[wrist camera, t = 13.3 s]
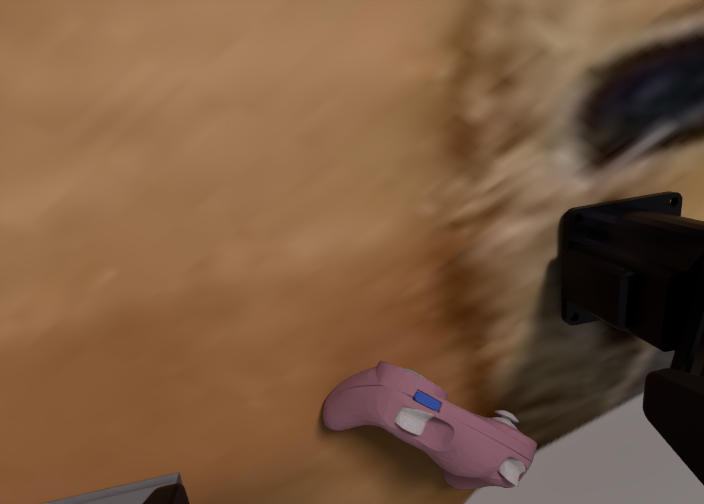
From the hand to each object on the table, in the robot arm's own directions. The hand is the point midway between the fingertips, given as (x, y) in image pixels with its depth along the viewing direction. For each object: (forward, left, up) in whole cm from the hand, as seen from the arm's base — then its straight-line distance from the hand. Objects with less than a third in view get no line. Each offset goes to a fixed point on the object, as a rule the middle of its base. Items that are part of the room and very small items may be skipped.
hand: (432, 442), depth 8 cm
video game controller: (-3, +9, -13) cm, 17 cm away
